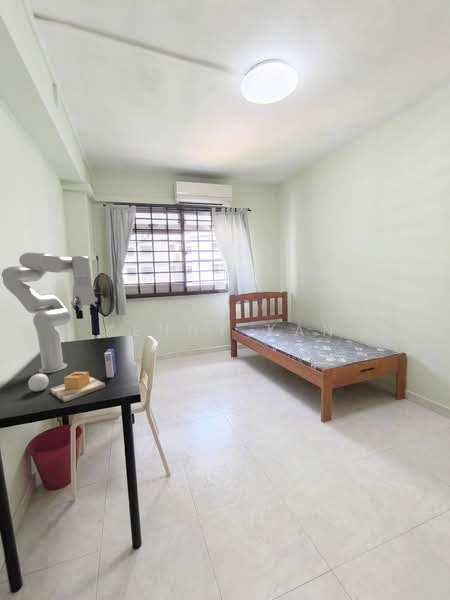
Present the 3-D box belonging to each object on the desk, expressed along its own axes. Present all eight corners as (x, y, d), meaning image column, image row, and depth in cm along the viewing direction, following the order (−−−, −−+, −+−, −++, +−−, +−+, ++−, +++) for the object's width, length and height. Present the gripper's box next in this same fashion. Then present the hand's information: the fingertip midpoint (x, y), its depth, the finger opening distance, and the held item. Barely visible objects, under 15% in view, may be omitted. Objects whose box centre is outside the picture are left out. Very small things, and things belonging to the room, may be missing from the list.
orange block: (65, 389, 112) (63, 377, 111) (76, 382, 118) (75, 371, 118) (79, 389, 110) (77, 377, 110) (89, 382, 117) (88, 371, 116)
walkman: (110, 372, 133) (107, 348, 132) (116, 371, 134) (113, 347, 133) (106, 377, 126) (104, 353, 124) (112, 377, 126) (110, 352, 125)
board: (50, 391, 114) (48, 378, 113) (89, 378, 126) (87, 366, 125) (64, 402, 103) (62, 387, 103) (105, 386, 115) (103, 373, 115)
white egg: (32, 388, 118) (29, 372, 117) (51, 385, 120) (49, 369, 120) (24, 398, 109) (21, 381, 108) (45, 394, 111) (43, 377, 110)
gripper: (88, 281, 138) (91, 314, 140) (62, 283, 121) (66, 320, 123) (101, 280, 137) (104, 313, 139) (76, 282, 120) (81, 320, 122)
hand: (86, 316), depth 131 cm, fingers open, 9 cm apart
